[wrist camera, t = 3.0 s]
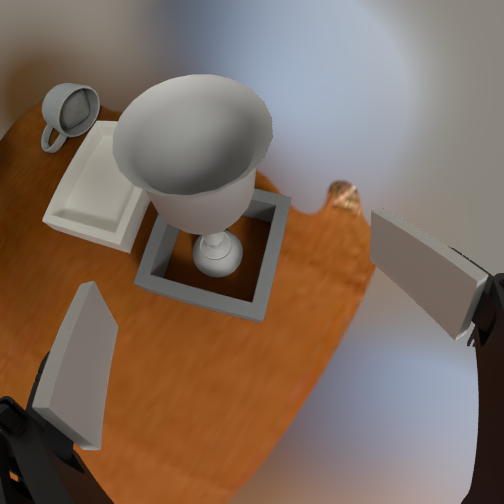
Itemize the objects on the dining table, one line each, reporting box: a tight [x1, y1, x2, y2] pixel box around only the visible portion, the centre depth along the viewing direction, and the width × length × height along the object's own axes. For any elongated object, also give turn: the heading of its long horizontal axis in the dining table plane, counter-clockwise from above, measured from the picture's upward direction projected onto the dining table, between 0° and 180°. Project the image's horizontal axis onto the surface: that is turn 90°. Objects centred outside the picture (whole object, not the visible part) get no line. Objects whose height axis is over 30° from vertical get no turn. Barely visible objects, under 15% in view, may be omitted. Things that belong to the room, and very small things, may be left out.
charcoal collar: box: [134, 188, 291, 323], centre depth 25 cm, size 11×11×4 cm
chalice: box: [112, 75, 273, 277], centre depth 19 cm, size 7×7×18 cm
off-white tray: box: [42, 121, 151, 253], centre depth 28 cm, size 12×15×3 cm
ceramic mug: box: [41, 83, 100, 153], centre depth 28 cm, size 11×8×8 cm
